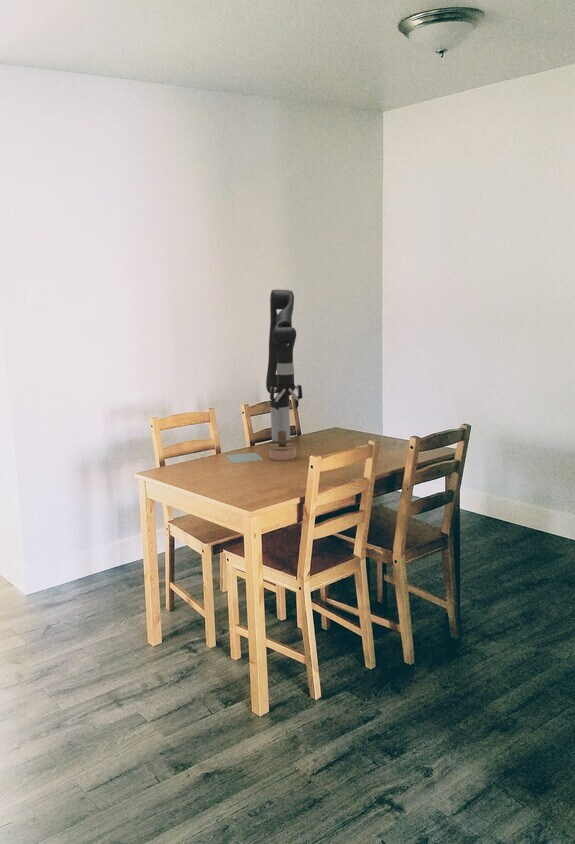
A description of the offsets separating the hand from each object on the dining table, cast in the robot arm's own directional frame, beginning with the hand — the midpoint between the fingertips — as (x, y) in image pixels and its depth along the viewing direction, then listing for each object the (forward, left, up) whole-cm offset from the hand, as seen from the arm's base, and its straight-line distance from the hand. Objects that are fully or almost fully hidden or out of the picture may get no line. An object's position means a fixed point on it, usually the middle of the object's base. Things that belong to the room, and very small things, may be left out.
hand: (286, 409), depth 317 cm
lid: (+4, -4, -17) cm, 17 cm away
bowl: (+4, -4, -22) cm, 22 cm away
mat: (-3, -20, -22) cm, 29 cm away
